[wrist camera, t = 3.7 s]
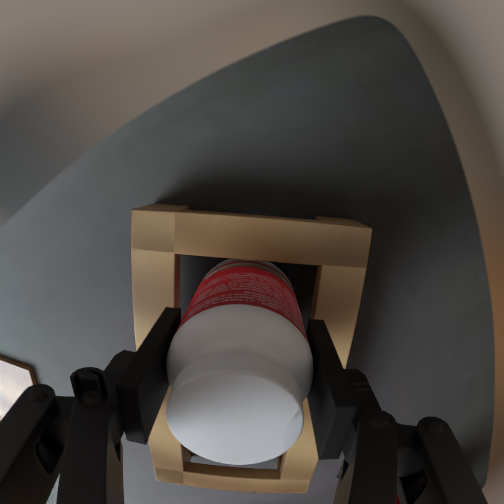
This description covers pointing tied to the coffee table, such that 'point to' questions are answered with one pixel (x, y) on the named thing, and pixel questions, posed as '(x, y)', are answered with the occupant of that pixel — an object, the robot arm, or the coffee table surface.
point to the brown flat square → (13, 382)
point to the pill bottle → (239, 366)
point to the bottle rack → (248, 248)
